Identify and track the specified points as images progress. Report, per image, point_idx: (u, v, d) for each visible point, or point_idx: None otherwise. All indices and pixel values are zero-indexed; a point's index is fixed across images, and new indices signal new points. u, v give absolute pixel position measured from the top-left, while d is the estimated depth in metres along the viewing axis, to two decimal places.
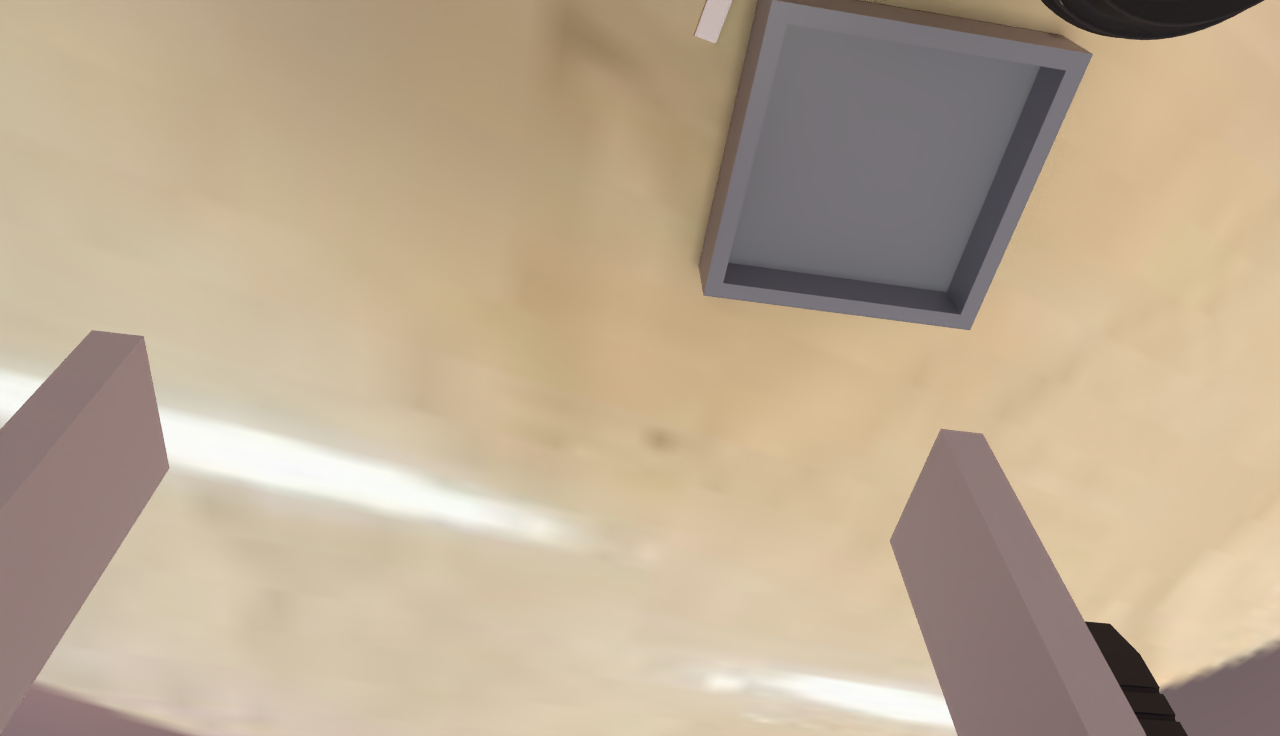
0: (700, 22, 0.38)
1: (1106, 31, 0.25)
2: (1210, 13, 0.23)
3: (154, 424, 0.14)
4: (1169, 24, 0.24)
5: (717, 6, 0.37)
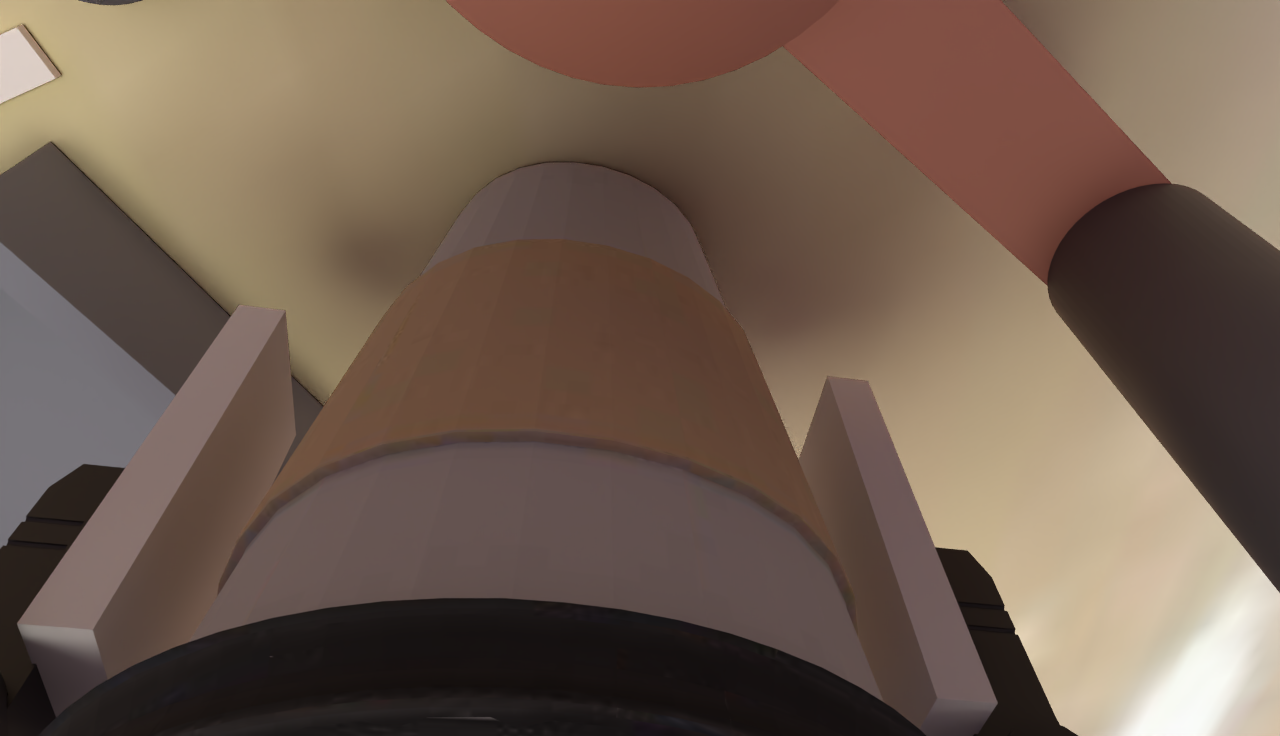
0: None
1: None
2: None
3: (289, 393, 0.15)
4: None
5: None
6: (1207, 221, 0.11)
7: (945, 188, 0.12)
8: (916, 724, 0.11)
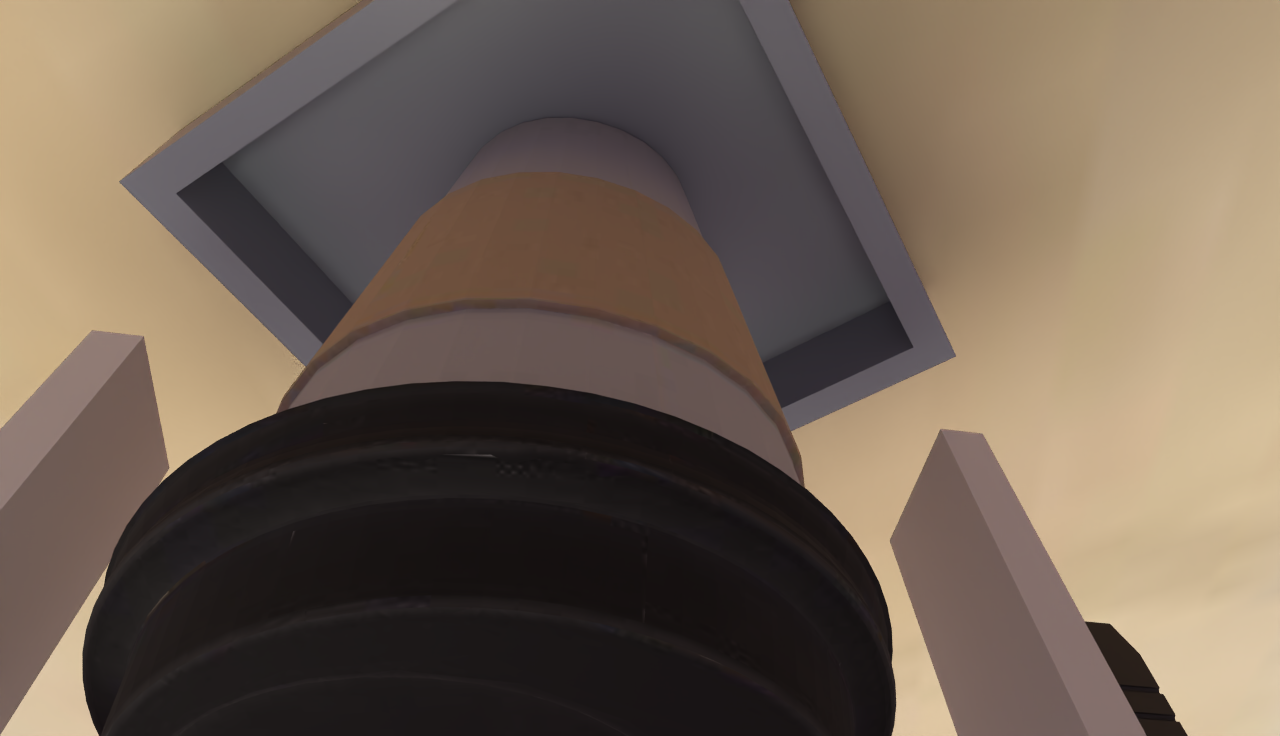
0: None
1: None
2: None
3: (154, 424, 0.14)
4: None
5: None
6: None
7: None
8: None
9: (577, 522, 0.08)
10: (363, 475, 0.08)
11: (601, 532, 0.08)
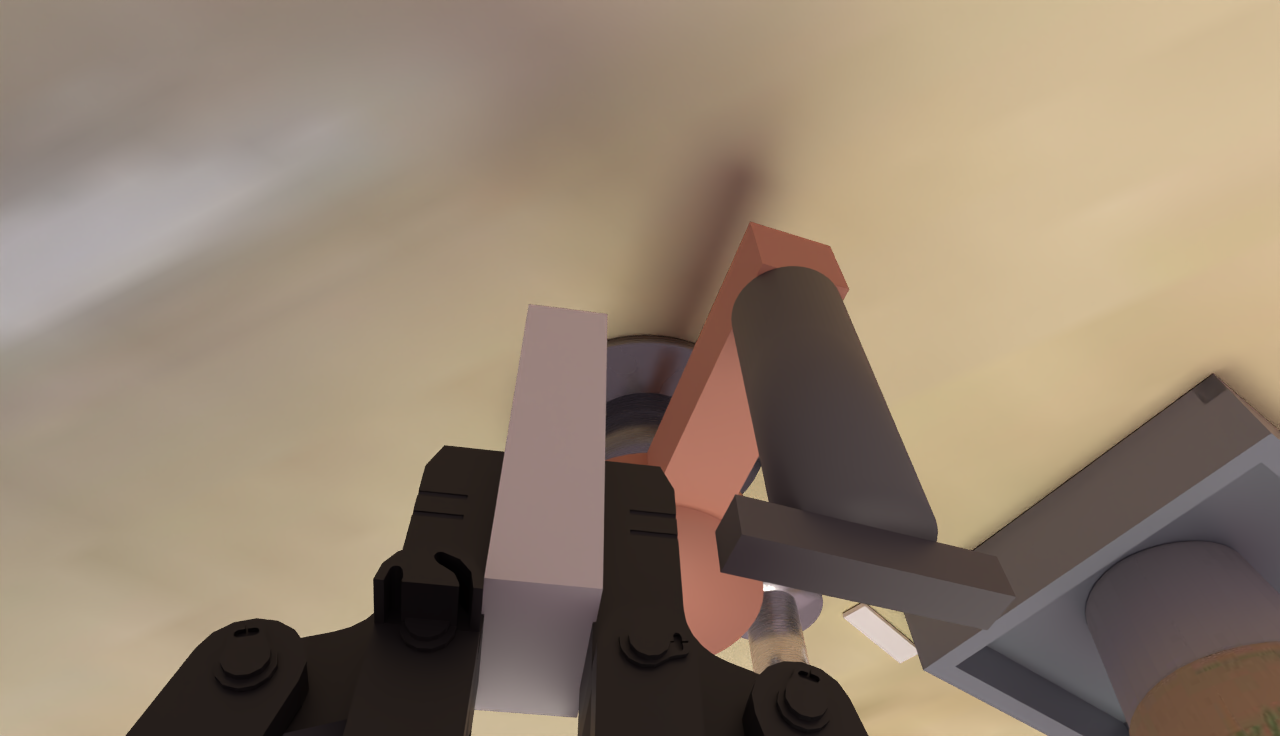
0: (892, 656, 0.35)
1: None
2: None
3: None
4: None
5: (890, 642, 0.35)
6: None
7: None
8: (537, 612, 0.11)
9: None
10: None
11: None
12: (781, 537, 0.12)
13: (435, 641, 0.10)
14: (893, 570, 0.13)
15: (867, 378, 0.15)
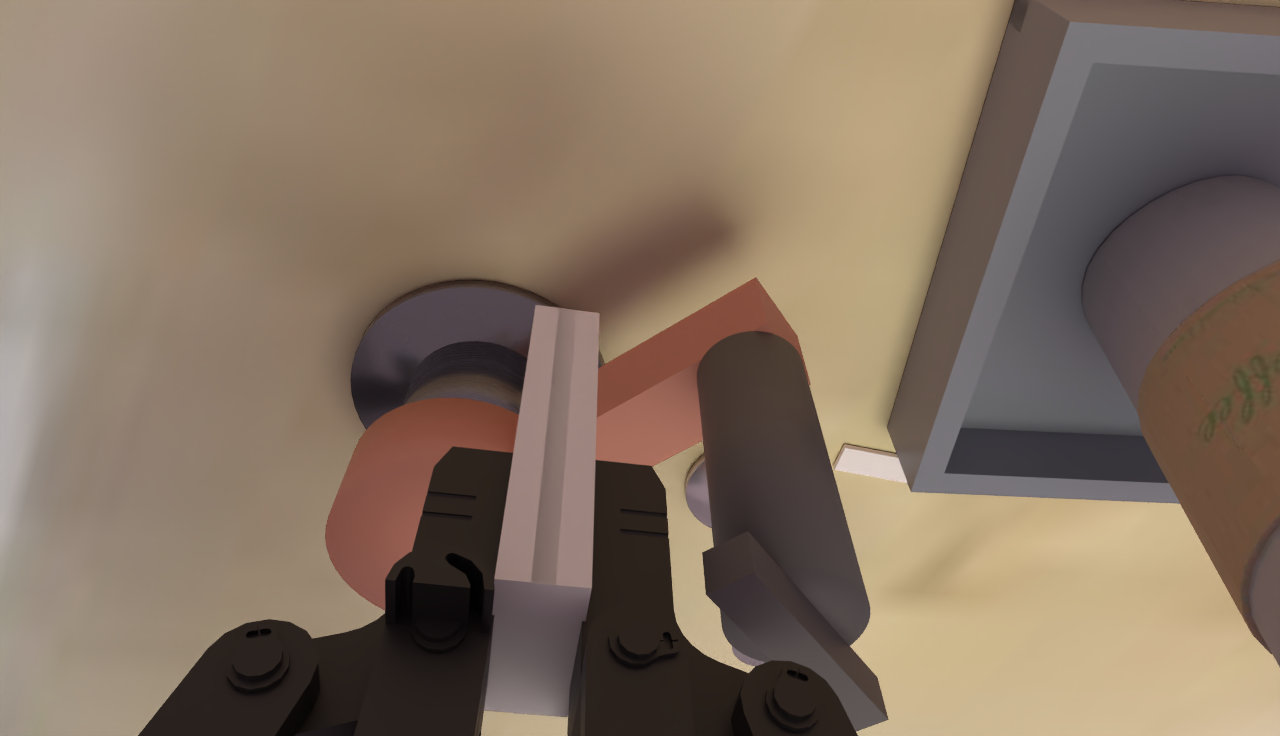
0: None
1: None
2: None
3: None
4: None
5: None
6: (702, 397, 0.18)
7: (663, 457, 0.21)
8: (526, 612, 0.11)
9: None
10: None
11: None
12: (774, 589, 0.13)
13: (446, 642, 0.10)
14: (828, 657, 0.14)
15: None
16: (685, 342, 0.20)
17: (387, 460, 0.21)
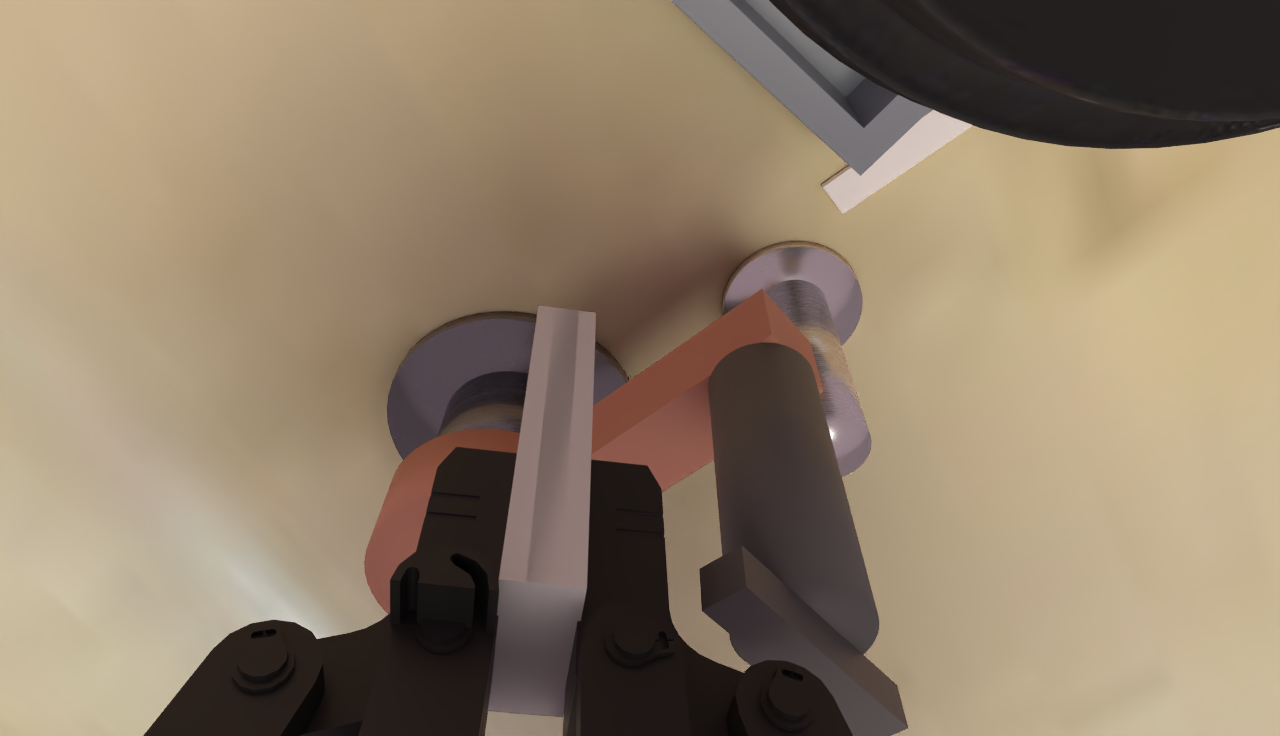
0: (954, 136, 0.22)
1: None
2: None
3: None
4: None
5: (917, 143, 0.23)
6: (711, 412, 0.19)
7: (685, 474, 0.21)
8: (521, 612, 0.11)
9: None
10: None
11: None
12: (771, 602, 0.13)
13: (451, 643, 0.10)
14: (836, 668, 0.13)
15: None
16: (696, 358, 0.20)
17: (415, 494, 0.21)
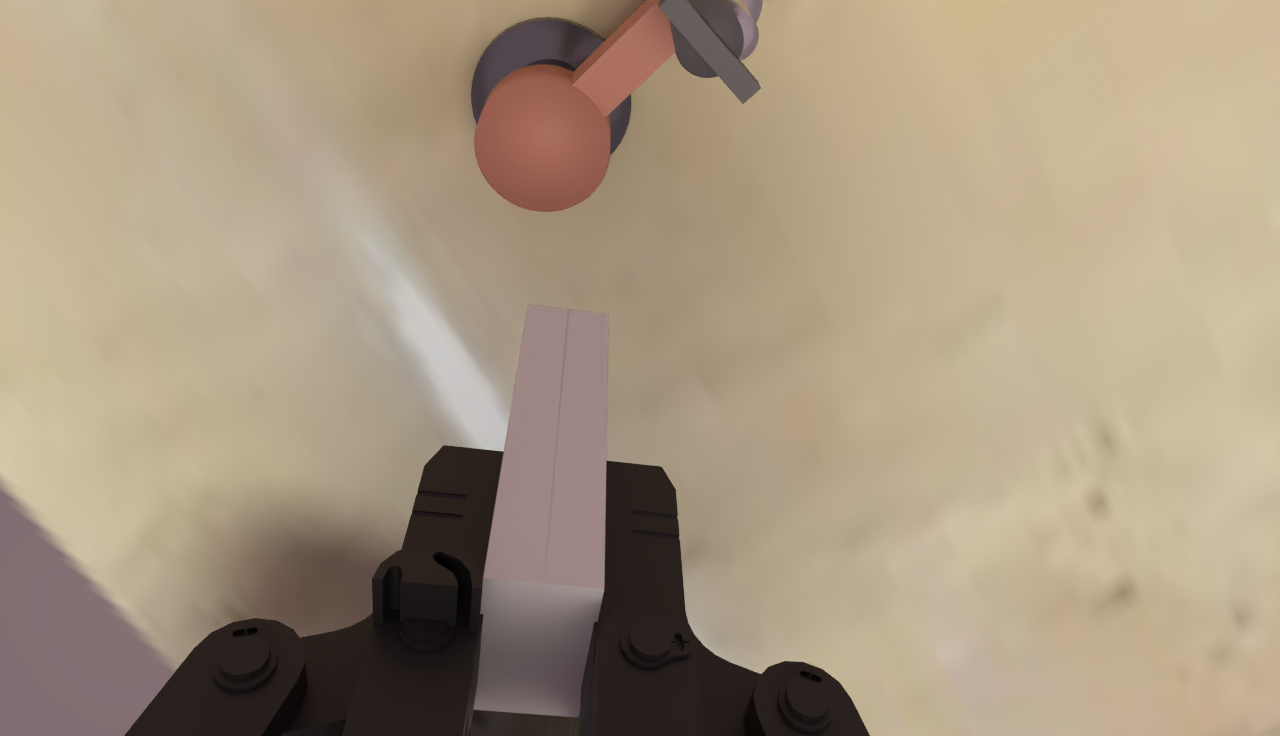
0: None
1: None
2: None
3: None
4: None
5: None
6: None
7: (657, 67, 0.37)
8: (538, 612, 0.11)
9: None
10: None
11: None
12: (689, 3, 0.29)
13: (433, 641, 0.10)
14: (722, 46, 0.29)
15: None
16: None
17: (504, 88, 0.37)
